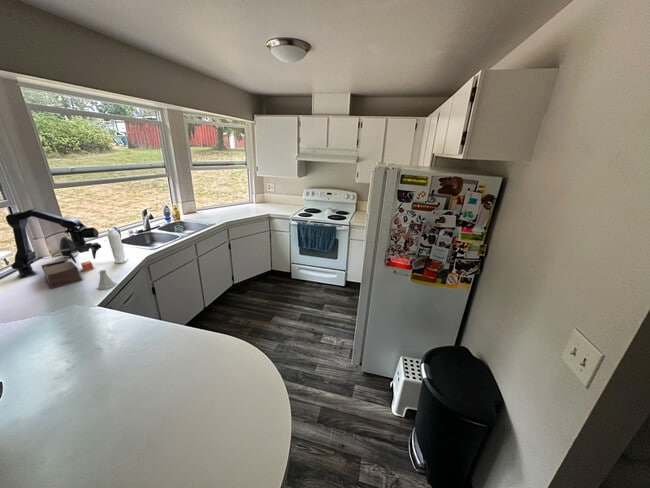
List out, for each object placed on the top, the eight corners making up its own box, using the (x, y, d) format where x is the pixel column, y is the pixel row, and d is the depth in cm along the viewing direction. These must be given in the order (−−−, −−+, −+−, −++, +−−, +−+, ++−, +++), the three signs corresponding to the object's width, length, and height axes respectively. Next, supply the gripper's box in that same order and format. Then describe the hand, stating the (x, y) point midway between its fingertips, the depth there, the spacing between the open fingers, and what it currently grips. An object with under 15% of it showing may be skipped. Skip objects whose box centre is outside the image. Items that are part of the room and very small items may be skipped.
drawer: (43, 273, 157) (39, 263, 155) (68, 267, 166) (65, 257, 164) (49, 281, 148) (45, 271, 145) (75, 274, 156) (72, 265, 154)
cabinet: (47, 280, 150) (41, 268, 147) (75, 273, 160) (70, 261, 157) (52, 288, 142) (47, 275, 140) (81, 280, 152) (77, 267, 149)
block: (82, 269, 166) (80, 263, 164) (91, 267, 169) (89, 260, 167) (84, 271, 163) (82, 264, 162) (93, 268, 167) (91, 262, 165)
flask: (105, 290, 142) (100, 274, 139) (95, 288, 143) (90, 273, 140) (118, 284, 149) (113, 269, 145) (108, 282, 150) (103, 267, 147)
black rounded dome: (83, 255, 186) (77, 236, 181) (64, 260, 178) (57, 240, 173) (78, 252, 191) (72, 233, 186) (60, 256, 183) (52, 237, 178)
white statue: (116, 260, 179) (106, 227, 171) (127, 258, 183) (118, 226, 174) (113, 265, 172) (103, 230, 164) (125, 263, 176) (116, 229, 167)
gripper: (60, 245, 147) (69, 269, 153) (100, 237, 161) (107, 259, 167) (56, 241, 153) (64, 264, 159) (95, 234, 167) (101, 255, 173)
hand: (85, 261), depth 164 cm, fingers open, 9 cm apart
